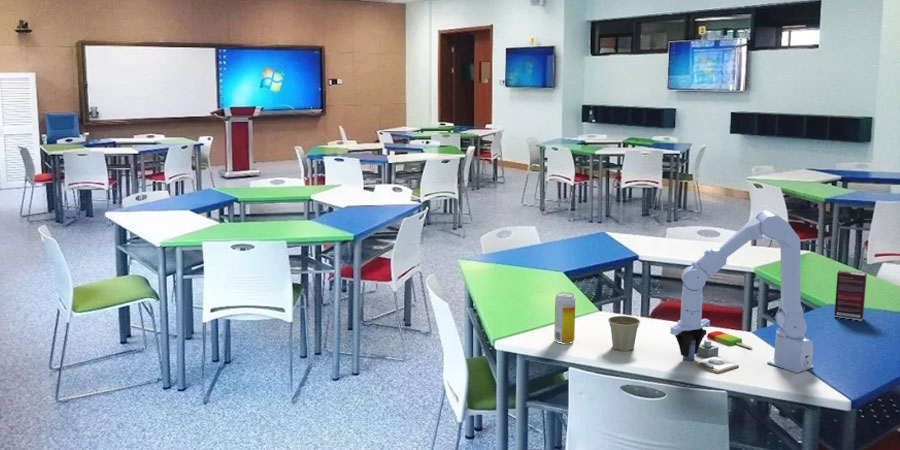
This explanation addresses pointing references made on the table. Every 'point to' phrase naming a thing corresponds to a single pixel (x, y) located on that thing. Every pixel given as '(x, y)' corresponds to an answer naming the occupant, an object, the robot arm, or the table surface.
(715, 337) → the popsicle
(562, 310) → the beer can
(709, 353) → the button housing
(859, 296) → the supplement box
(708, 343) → the button
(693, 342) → the blue small bottle
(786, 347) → the robot arm
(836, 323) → the table surface
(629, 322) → the flower pot
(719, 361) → the clipboard
